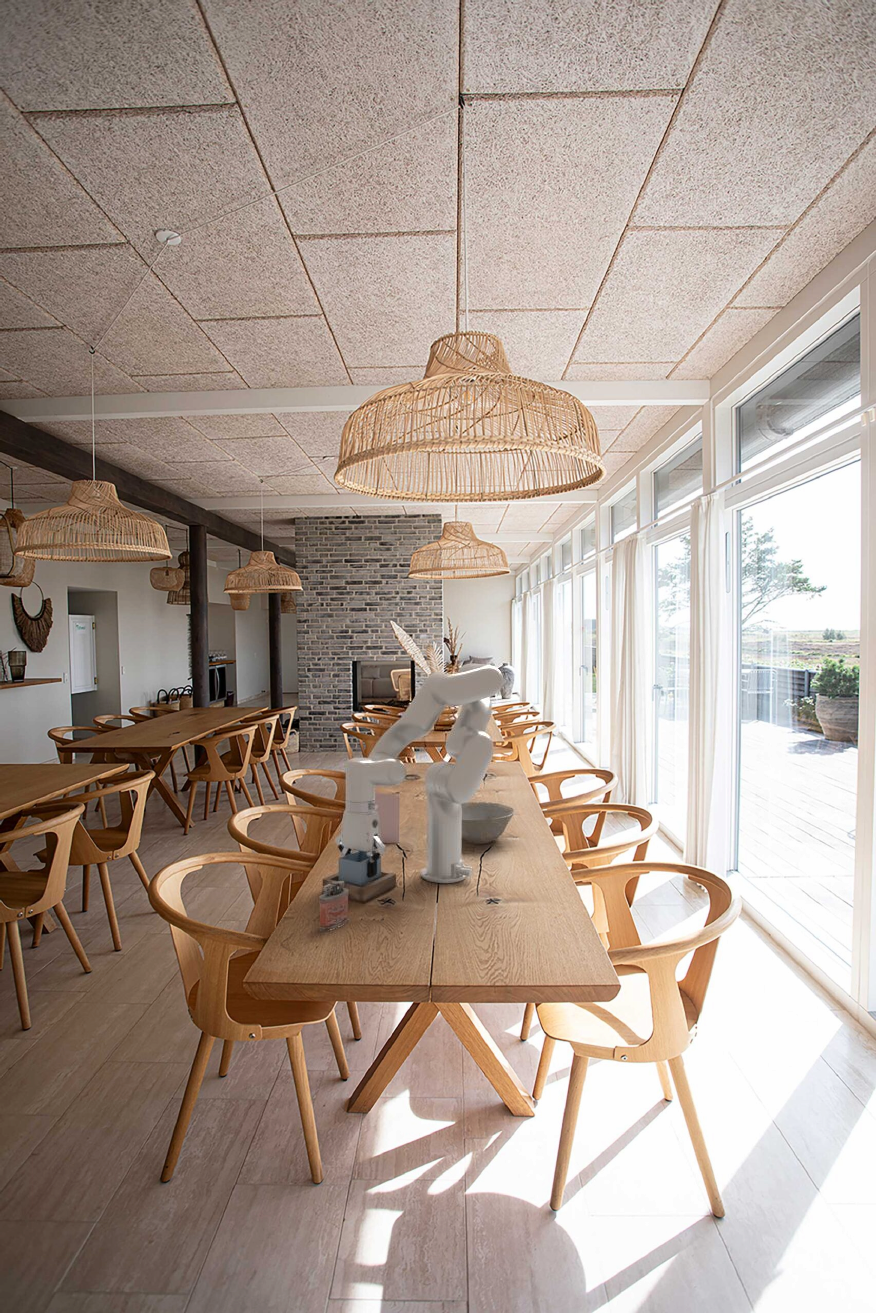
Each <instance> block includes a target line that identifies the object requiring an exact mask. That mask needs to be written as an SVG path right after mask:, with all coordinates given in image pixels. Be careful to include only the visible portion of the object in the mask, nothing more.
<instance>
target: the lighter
mask: <svg viewBox="0 0 876 1313" xmlns="http://www.w3.org/2000/svg"><path fill="white" fill-rule="evenodd" d="M321 892H322V894H321V895H319V897H318V901H319V924H318V931H319V932H322V931H327V932H329V931H328V930H330V929H333V928H336V927H338V926H341V925H343V924H345V923H346V922H348V923H349V915H348V913H349V911H348V910H349V908H348V907H349V904H348V903H349V902H348V901H349V899H348V894H349V890H348V889H346V888H344V881H338V882H335V881H333V882H332V883H331V884H328V885H326V886H323V885H322V888H321ZM345 925H346V924H345ZM343 926H344V925H343ZM341 927H342V926H341ZM336 929H337V928H336ZM330 931H331V930H330Z"/></svg>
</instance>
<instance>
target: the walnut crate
mask: <svg viewBox="0 0 876 1313" xmlns="http://www.w3.org/2000/svg"><path fill="white" fill-rule="evenodd" d="M333 881H335V882H338V881H339V871H337V872H336V873H333V874H331V875H329V876H327V877H323V878H322V887H323V886H326V885H328V884H331V883H332V882H333ZM344 888H346V889H348V890H349V894H348V900H349V899H350V901H353V900H354V902H356V903H362V904H367V903H369V902H370V901H372V900H373V899H374V900H375V899H376V898H378V897H381V895H384V894H385V892H386V893H387V891H388V892H390V891H391V890H393V889H395V888H397V873H393V872H389V871H384V870H381V877H379V878H377V879H375V880H373V881H371V882H369V883H367V884H364V885H362V886H360V887H359V886H355V885H351V884H347V883H344Z"/></svg>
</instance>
